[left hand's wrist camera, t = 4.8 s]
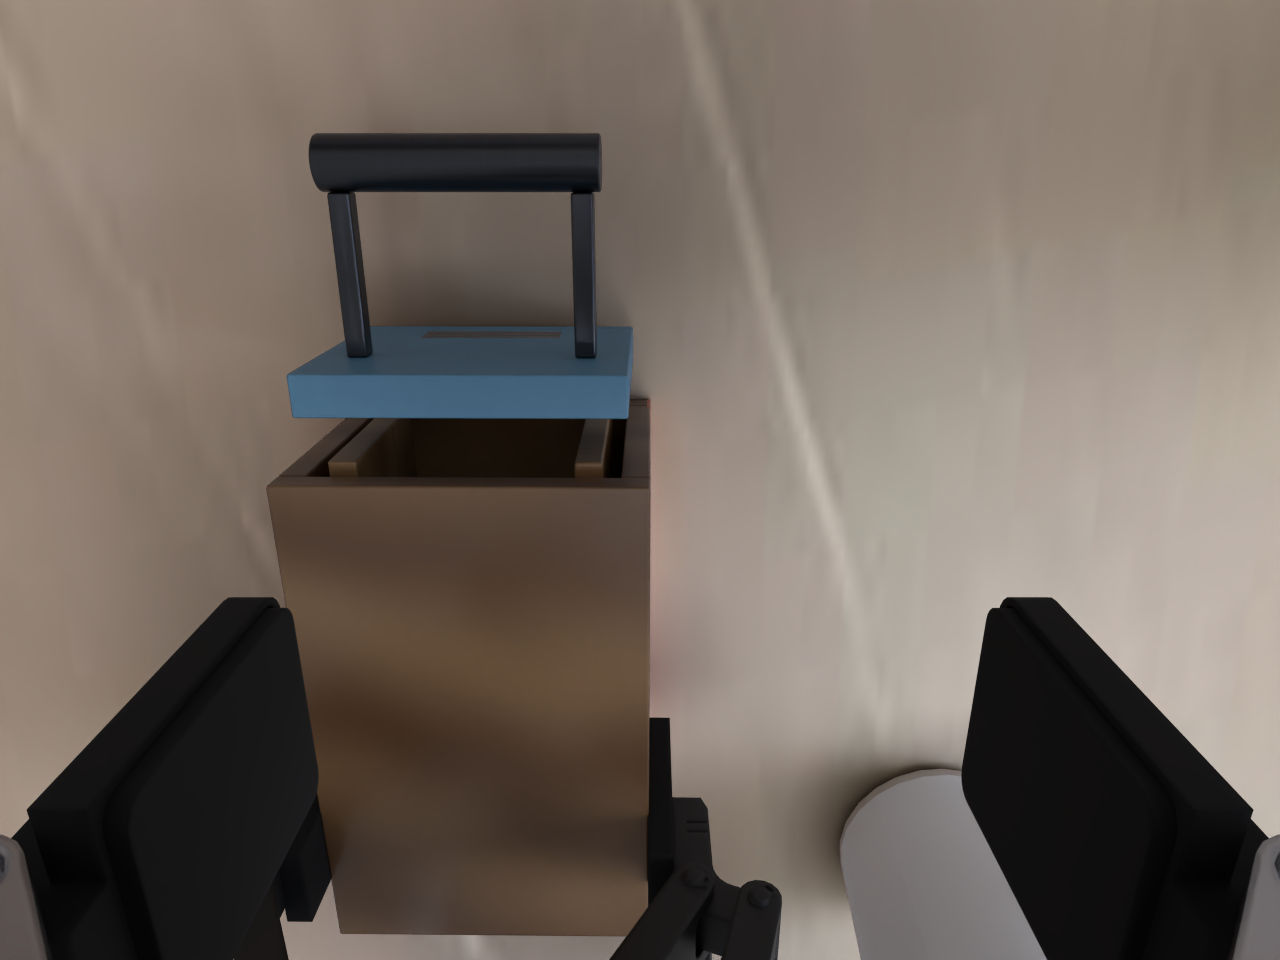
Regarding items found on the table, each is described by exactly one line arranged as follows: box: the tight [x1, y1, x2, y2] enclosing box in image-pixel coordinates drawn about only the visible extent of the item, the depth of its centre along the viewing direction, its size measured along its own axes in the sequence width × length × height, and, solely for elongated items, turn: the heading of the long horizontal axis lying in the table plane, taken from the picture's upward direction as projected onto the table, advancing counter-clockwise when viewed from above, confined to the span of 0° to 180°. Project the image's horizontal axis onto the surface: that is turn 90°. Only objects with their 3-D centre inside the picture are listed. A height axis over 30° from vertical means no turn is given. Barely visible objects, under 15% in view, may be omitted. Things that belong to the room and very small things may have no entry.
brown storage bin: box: [266, 399, 650, 936], centre depth 29 cm, size 16×10×9 cm, turn 0°
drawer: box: [287, 133, 633, 478], centre depth 27 cm, size 21×9×7 cm, turn 0°
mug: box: [840, 769, 1047, 960], centre depth 32 cm, size 11×9×10 cm
